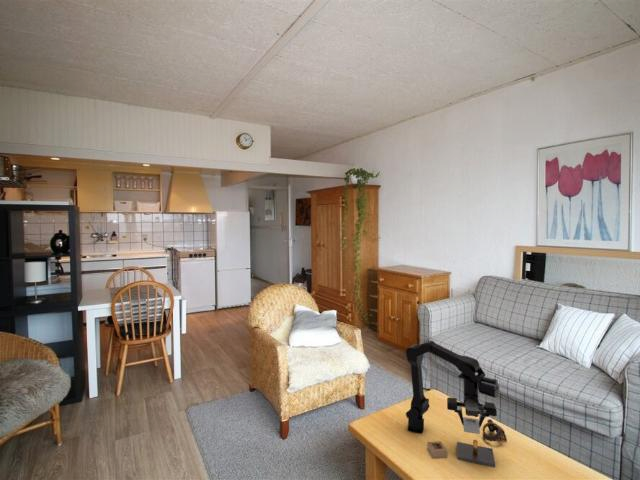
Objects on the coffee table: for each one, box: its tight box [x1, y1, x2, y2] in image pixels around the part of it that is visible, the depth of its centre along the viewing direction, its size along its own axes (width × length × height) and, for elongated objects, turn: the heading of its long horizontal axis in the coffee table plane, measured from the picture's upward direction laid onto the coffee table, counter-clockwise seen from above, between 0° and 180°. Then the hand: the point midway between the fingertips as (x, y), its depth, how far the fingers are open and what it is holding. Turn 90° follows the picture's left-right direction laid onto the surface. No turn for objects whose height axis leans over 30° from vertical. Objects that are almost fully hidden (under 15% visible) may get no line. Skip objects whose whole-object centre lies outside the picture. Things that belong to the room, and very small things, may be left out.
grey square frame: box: [462, 416, 481, 435], centre depth 148 cm, size 6×6×3 cm
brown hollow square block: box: [426, 440, 448, 459], centre depth 149 cm, size 6×6×3 cm
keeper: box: [456, 439, 496, 468], centre depth 147 cm, size 14×10×6 cm
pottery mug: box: [482, 419, 508, 443], centre depth 158 cm, size 12×10×8 cm
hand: (471, 426), depth 148 cm, fingers closed on grey square frame, 6 cm apart
